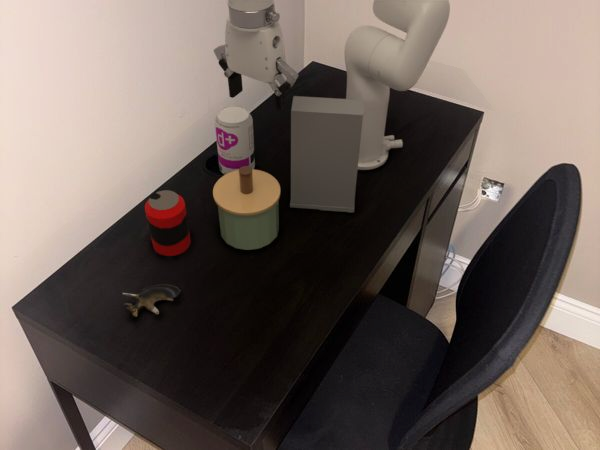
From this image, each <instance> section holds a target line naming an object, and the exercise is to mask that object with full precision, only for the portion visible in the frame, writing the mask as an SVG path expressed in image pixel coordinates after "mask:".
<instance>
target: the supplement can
mask: <svg viewBox="0 0 600 450" xmlns="http://www.w3.org/2000/svg"><path fill="white" fill-rule="evenodd" d="M253 121H254V120H253V117H252V114H251V113H250V111H249V110H248V108H246V107H244V106H242V105H237V104H233V105H232V104H231V105H226V106H223V107H221V108H220V109H219V110H218V111H217V113H216V116H215V118H214V127H215V138H216V139H215V140H216V146H217V147H216V149H217V157H218V159H217V160H218V167H219V171H220V172H221V173H222V174H223V175H226V174H228V173H230V172H233V171H237V170H239V169H240V168H241V167H243V166H249V167H251V168H252V169H255V166H256V160H255V158H256V157H255V141H254V140H255V139H254V137H255V136H254V122H253Z"/></svg>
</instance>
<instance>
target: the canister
mask: <svg viewBox="0 0 600 450" xmlns="http://www.w3.org/2000/svg"><path fill="white" fill-rule="evenodd" d="M279 205H280V204H279V200H278V201H277V203H276V204H275V205H274V206H273V207H272V208H270V209H269V210H267V211H265V212H262V213H259V214H256V215H248V216H242V215H235V214H231V213H228V212H226V211H224V210H223V209H221V208H220V207H219V206H218V205H217V213H218V220H219V230H220V237H221V238H222V239H223V240H224V242H225V243H226V244H227V245H229V246H231V247H233V248H234V249H239V250H245V251H250V250H258V249H262V248H263V247H266V246H268V245H270V244H271V243H272V242H273V241H274V240H275V239H276V238H277V237H278V234H279V230H280V213H279V212H280V210H279V209H280V208H279Z"/></svg>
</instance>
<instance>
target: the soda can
mask: <svg viewBox="0 0 600 450" xmlns="http://www.w3.org/2000/svg"><path fill="white" fill-rule="evenodd" d="M144 212H145V217H146V222H147V226H148V230H149V234H150V240H151V242H152V246H153V247H152V248H153V249H154V251H155V252H156V253H157V254H159V255H161V256H164V257H165V256H166V257H173V256H177V255H180V254H182V253H184V252H186V250H188V249H189V247H190V246H191V244H192V243H191V242H192V241H191V240H192V239H191V234H190V226H189V222H188V215H187V208H186V202H185V199H184V198H183V197H182V196H181V195H180V194H178V193H176V192H175V191H173V190H168V189H167V190H166V189H165V190H159V191H156V192H154V193H153V194H151V195H150V197H149V198H148V199H147V201H146V202H145V204H144Z"/></svg>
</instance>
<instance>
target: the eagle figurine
mask: <svg viewBox="0 0 600 450" xmlns="http://www.w3.org/2000/svg"><path fill="white" fill-rule="evenodd" d="M181 292H182V290H181V289H180V288H179V287H177V286H175V285H172V284H155V285H151V286H148V287H145V288H143V289H142V290H141V291H140V292H139V294H138V293H127V292H122V295H123V296H127V297H129V298H132V299H134V300H135V301H136V303H135V304H134V305H133V304H132V303H128V302H125V303H124V304H123V305H124V306H126V310H128V311H129V312H130V313H131V315H132V317H135V318H138V316H139V313H140V312H141V310H142V309H143V308H145V309H146V310H147V311H150V312H151V313H154V314H155V315H160V311H159V309H158V308H157V307H156V306H155V303H157V302H158V301H169V302H170V301H171V302H173V301H174V298H177V297H179V295H180V294H181Z"/></svg>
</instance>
